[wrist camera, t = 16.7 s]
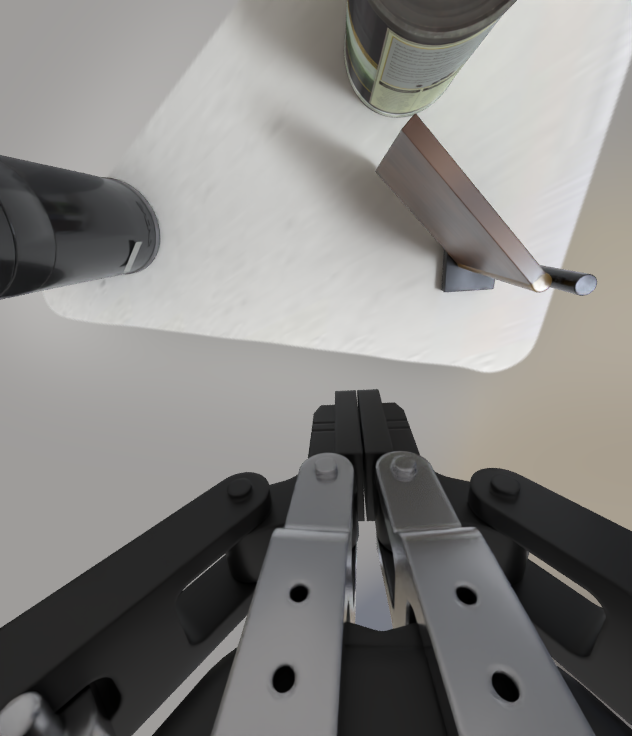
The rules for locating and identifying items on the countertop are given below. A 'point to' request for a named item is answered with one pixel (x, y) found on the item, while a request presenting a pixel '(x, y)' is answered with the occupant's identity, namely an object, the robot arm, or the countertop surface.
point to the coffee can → (412, 48)
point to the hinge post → (469, 280)
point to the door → (456, 209)
